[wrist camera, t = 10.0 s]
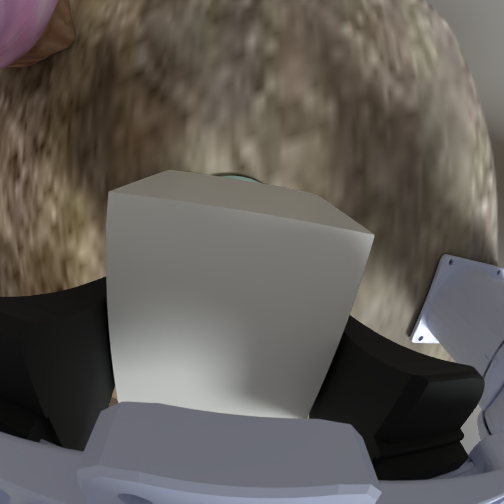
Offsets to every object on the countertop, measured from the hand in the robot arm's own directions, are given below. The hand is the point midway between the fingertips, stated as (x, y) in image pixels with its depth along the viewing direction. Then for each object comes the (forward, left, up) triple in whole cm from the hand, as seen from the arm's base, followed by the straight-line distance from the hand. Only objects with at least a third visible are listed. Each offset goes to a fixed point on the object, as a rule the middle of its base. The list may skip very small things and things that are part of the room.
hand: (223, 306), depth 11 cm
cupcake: (+16, -14, -9) cm, 23 cm away
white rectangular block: (0, 0, -2) cm, 2 cm away
